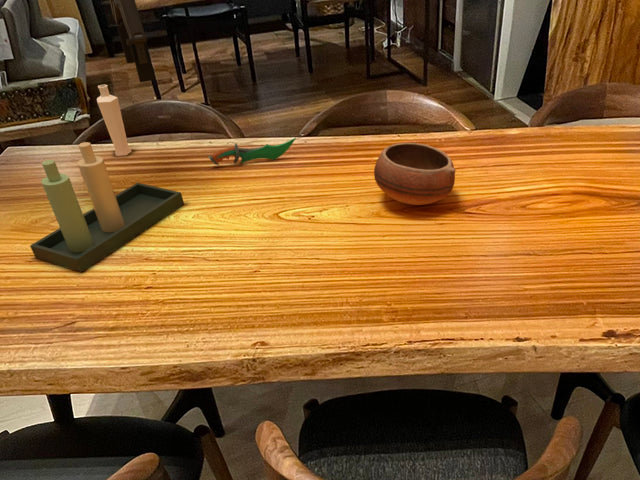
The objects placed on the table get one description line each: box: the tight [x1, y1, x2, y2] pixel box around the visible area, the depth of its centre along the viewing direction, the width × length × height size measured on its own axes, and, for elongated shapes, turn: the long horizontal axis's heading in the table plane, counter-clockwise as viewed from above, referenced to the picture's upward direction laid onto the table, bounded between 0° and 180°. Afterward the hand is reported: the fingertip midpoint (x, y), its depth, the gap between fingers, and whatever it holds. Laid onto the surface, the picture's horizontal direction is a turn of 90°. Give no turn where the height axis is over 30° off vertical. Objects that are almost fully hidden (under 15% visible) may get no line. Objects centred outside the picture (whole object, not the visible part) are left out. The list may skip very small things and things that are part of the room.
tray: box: [29, 182, 185, 273], centre depth 119 cm, size 12×28×3 cm, turn 153°
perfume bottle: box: [96, 83, 132, 157], centre depth 142 cm, size 5×4×15 cm
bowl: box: [373, 142, 457, 206], centre depth 122 cm, size 16×16×10 cm
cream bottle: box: [76, 141, 125, 232], centre depth 114 cm, size 4×4×16 cm
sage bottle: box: [40, 159, 94, 253], centre depth 108 cm, size 4×4×16 cm
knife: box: [208, 137, 297, 166], centre depth 139 cm, size 20×2×5 cm, turn 104°
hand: (140, 71), depth 122 cm, fingers open, 13 cm apart
